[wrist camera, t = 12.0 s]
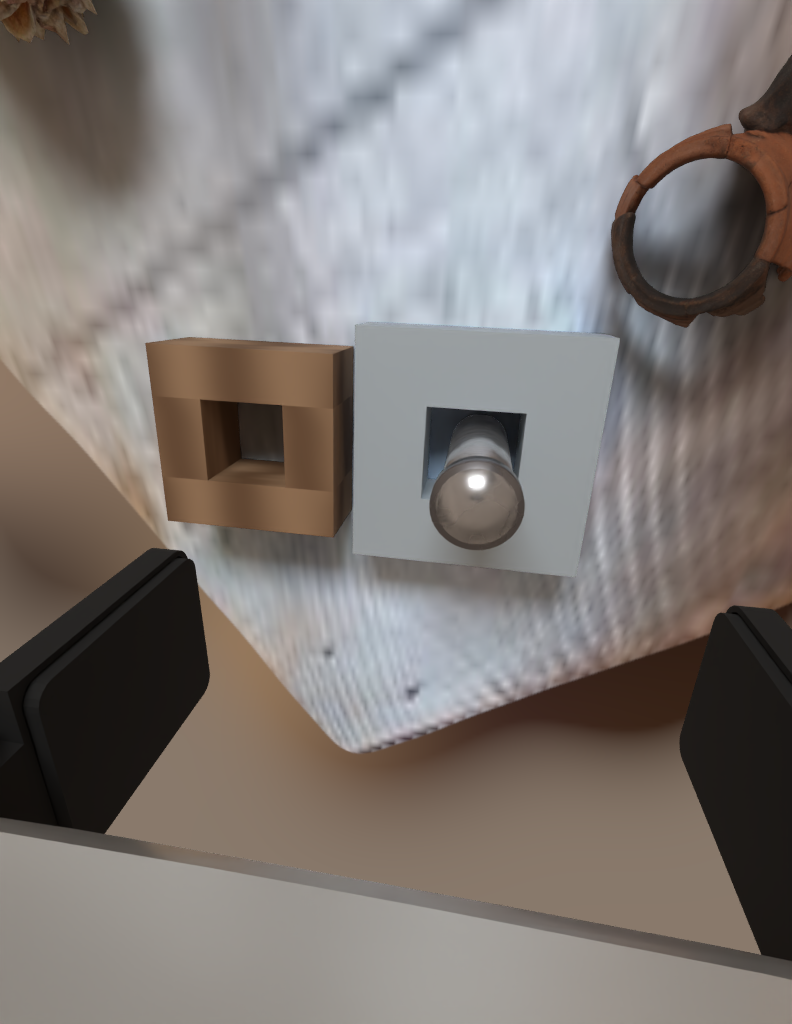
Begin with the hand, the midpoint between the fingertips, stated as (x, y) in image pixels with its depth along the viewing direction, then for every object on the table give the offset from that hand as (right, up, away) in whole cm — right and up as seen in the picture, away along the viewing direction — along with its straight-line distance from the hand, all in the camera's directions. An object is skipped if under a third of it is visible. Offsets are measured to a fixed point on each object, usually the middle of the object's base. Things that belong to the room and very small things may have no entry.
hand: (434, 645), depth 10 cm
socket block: (+4, +7, +25) cm, 27 cm away
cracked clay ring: (+16, +19, +19) cm, 31 cm away
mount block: (-9, +8, +27) cm, 30 cm away
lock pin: (+5, +7, +25) cm, 27 cm away
